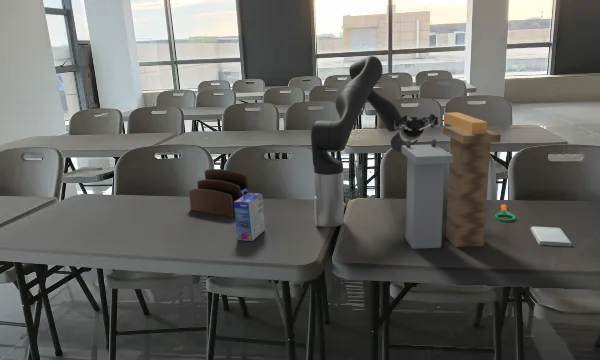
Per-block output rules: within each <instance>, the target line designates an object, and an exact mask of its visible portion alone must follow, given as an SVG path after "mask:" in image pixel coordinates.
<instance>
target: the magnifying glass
mask: <svg viewBox="0 0 600 360" xmlns="http://www.w3.org/2000/svg"><path fill="white" fill-rule="evenodd" d="M502 217H507V218H508V219H507V218H506V219H505V218H502ZM494 218H495V220H496V221H498V222H503V223H512V222H515V221H516V216H515V214H513V213H511V212H510V211H508V206H507V204H505V203H504V204H503V203H502V204H501V205H500V211H499V212H497V213H495V215H494ZM509 218H510V219H509Z"/></svg>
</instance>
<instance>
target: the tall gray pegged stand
mask: <svg viewBox="0 0 600 360" xmlns="http://www.w3.org/2000/svg"><path fill="white" fill-rule="evenodd" d="M401 152H402V153H401V154H403V155H404V156H405V157H406V158H407V168H406V170H407V171H406V205H405V208H406V209H405V211H406V212H405V240H406V241H407V243H408V244H409V246H410V248H411V249H413V250H414V249H416V250H417V249H440V248H442V235H443V234H442V231H443V212H444V210H443V209H444V186H445V168H446V167H445V165H446V164H449V163H453V155H452V154H450V152H449V151H446V150H445V149H443V148H441V147H440V146H438V145H437V139H436V138H432V139H431V144H415V145H411V140H406V145H404V146H402V150H401Z"/></svg>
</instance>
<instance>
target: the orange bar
mask: <svg viewBox="0 0 600 360" xmlns="http://www.w3.org/2000/svg"><path fill="white" fill-rule="evenodd" d="M443 120H444V124H446V125H449V126H450V127H456V128H458V129H460V130H463V131H465V132H467V133H470V134H487V130H488V121H486V120H483V119H480V118H476V117H474V116H471V115H467V114H465V113H461V112H457V111H456V112H453V111H452V112H444V119H443Z"/></svg>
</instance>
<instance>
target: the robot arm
mask: <svg viewBox="0 0 600 360" xmlns="http://www.w3.org/2000/svg"><path fill="white" fill-rule="evenodd" d="M348 70H349V71H348V72H349V77H350V79H351V80H350V81H349V82H347V83H346V85H344V87H343V88H341V91H340V92H339V93H338V95H337V97H336V99H335V109H336V112H337V114H338V116H339V117H340V119H338V120H316V121H315V122H314V123H313V124H312V127H311V130H310V142H311V143H310V144H311V154H312V155H311V157H312V164H313V175H314V176H313V179H314V183H313V184H314V193H313V198H314V199H313V200H314V201H313V203H314V223H315V227H322V228H323V227H324V228H337V227H340V226H342V225H343V224H344V218H345V215H344V214H345V213H344V211H345V210H344V164H343V162H342V161H341V160H339V159H337V158H336V157H333V156H332V155H331V154H329V153H328V151H330V152H333V151H334V152H340V151H342V150H344V149H345V148H346V147H347V144H348V142H349V139H350V136H351V134H352V131H353V128H354V126H355V123H356V121H357V119H358V117H359V115H360V113H361V111H362V110H363V108H364V106H365V104H366V101H368V103H369V104H370V105H371V106H372V108H373V109H374V110H375V112H376V114H377V115H378V117H379V119H380V120H381V121H382V123H383V125H384V127H385V128H386V130H387V131H388V132H389V133H393V132H396V131H398V130H399V131H398V132H397V133H396V134H395V135H394V136H392V138H391V139H390V146H391V148H392V150H393V151H394V152H395V153H397V154H403V153H402V152H401V150H402V146H404V145H406V140H411V145H417V143H418V141H419V138H420V137H421V135H422V134H423V132H424V130H425V129H426V128H429V127H430V129H435V128H436V127H437V126H438V125H439V117H438V116H436V115H435V114H434V113H431V114H430V115H428V117H425V116H424V117H420V118H419V117H416V116H410V117H408V115H404V116H401V114H400V112H399V110H398V109H397V107H396V105H395V104H394V103H393V102H391V101H390V100H389V99H387V98H385V97H384V96H382V95H381V94H379V93H378V92H376V91H375V90H374V87H375V86H376V85H377V84H378V82H379V81H380V80H381V78H382V76H383V70H384V69H383V64H382V61H381V60H380V59H379V58H378V57H377V56H374V55H373V56H372V55H370V56H367V57H364V58H362V59H360V60H358V61H356V62H354V63H352V64H351V65H350V66H349V69H348Z"/></svg>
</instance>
